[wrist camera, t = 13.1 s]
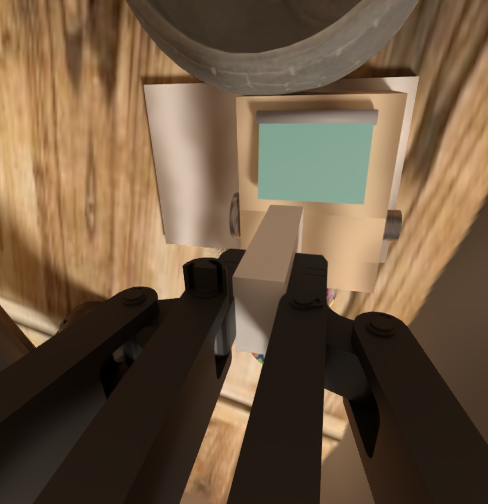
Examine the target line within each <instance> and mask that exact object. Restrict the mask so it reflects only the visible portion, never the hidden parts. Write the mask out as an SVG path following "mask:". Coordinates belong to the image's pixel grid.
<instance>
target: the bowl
mask: <svg viewBox="0 0 488 504" xmlns="http://www.w3.org/2000/svg"><path fill="white" fill-rule="evenodd" d="M418 1H419V0H126V2H127V3H128V5H129V7H130V8H131V10H132V11H133V13H134V14H135V16H136V18H137V19H138V21H139V22H140V24H141V25H142V27H143V28H144V30H145V31H146V32H147V33H148V35H149V36H150V37H151V38H152V39H153V41H154V42H155V43H156V44H157V46H158V47H159V48H160V49H161V50H162V51H163V52H164V53H165V54H166V55H167V56H168V57H169V58H171V59H172V60H173V61H174V62H175V63H176V64H177V65H178V66H180V67H181V68H183V69H184V70H185V71H187V72H188V73H190V74H191V75H193V76H194V77H196V78H197V79H199V80H200V81H203V82H205V83H207V84H209V85H211V86H214V87H216V88H218V89H221V90H224V91H228V92H233V93H237V94H241V95H278V94H287V93H293V92H298V91H303V90H308V89H313V88H318V87H323V86H325V85H327V84H330V83H332V82H334V81H336V80H339V79H340V78H342V77H344V76H346V75H347V74H349V73H351V72H353V71H354V70H356V69H357V68H359V67H360V66H361V65H363V64H364V63H365V62H366V61H368V60H369V59H370V58H371V57H373V56H374V55H375V54H376V53H377V52H379V51H380V50H381V49H382V48H383V47H384V46H385V45H386V44H387V43H388V42H389V41H390V39H391V38H392V37H393V36H394V35H395V34H396V33H397V32H398V31H399V30H400V28H401V27H402V25H403V24H404V22H405V21H406V19H407V18H408V16H409V15H410V13H411V12H412V11H413V9H414V7H415V6H416V4H417V3H418Z"/></svg>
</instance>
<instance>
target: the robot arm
mask: <svg viewBox="0 0 488 504" xmlns="http://www.w3.org/2000/svg"><path fill="white" fill-rule="evenodd" d="M303 211H304V206H286V205H270V206H269V208H268V210H267V212H266V214H265V216H264V218H263V220H262V222H261V223H260V225H259V227H258V229H257V231H256V233H255V235H254V237H253V239H252V241H251V242H250V244H249V246H248V248H247V250H243V249H231V248H230V249H229V250H227V251H225V252H224V253H222V254H221V255H220V257H219V258H218V259H216V258H198V259H194V260H191V261H189V262H187V263H186V264H184V265H183V273H184V281H185V291H184V293H183V294H182V295H181V297H180V298H175V299H164V300H158V295H157V293H156V291H155V290H153V289H151V288H149V287H132V288H129V289H126V290H123V291H122V292H120V293H118V294H116V295H115V296H113V297H112V298H110V299H109V300H107V301H106V302H104V303H99V302H89V303H84V304H82V305H80V306H78V307H76V308H75V309H74V310H73V311H72V312H71V313H70V314H68V315H67V316H66V317H65V319H64V320H63V321H62V323H61V325H60V328H59V330H58V331H57V333H56V334H55V336H53V337H52V338H50V339H49V340H47V341H46V342H44V343H43V344H41V345H40V346H38V347H37V348H36V347H35V346H34V345H33V343H32V342H31V341H30V340H29V339H28V338H27V336H26V335H25V334H24V333H23V332H22V331H21V330H20V328H19V327H18V326H17V325H16V324H15V323H14V321H13V320H12V319H11V318H10V316H9V315H8V314H7V313H6V312H5V310H4V309H3V308H2V307H1V305H0V504H180V501H181V498H182V495H183V493H184V490H185V487H186V484H187V482H188V479H189V476H190V474H191V471H192V468H193V465H194V463H195V460H196V457H197V454H198V452H199V449H200V446H201V444H202V441H203V438H204V435H205V433H206V430H207V427H208V424H209V422H210V419H211V416H212V413H213V411H214V408H215V405H216V403H217V400H218V397H219V394H220V392H221V389H222V386H223V383H224V381H225V378H226V375H227V373H228V370H229V367H230V364H231V360H232V351H231V347H232V345H233V342H234V340H235V344H236V350H237V351H244V352H251V353H257V354H264V355H265V358H264V362H263V366H262V370H261V374H260V377H259V381H258V385H257V389H256V393H255V397H254V401H253V404H252V408H251V412H250V416H249V420H248V424H247V428H246V431H245V435H244V439H243V443H242V447H241V451H240V455H239V458H238V462H237V466H236V470H235V474H234V478H233V482H232V485H231V489H230V493H229V497H228V501H227V504H320V480H321V455H322V430H323V404H324V388H325V389H327V390H329V391H331V392H334V393H336V394H338V395H340V396H343V403H344V407H345V410H346V413H347V416H348V419H349V423H350V426H351V429H352V432H353V435H354V438H355V441H356V445H357V448H358V451H359V454H360V457H361V461H362V464H363V467H364V470H365V473H366V476H367V480H368V483H369V486H370V489H371V492H372V496H373V499H374V502H375V504H488V444H487V443H486V442H485V440H484V438H483V437H482V436H481V434H480V433H479V431H478V430H477V428H476V427H475V425H474V424H473V422H472V421H471V420H470V418H469V417H468V415H467V413H466V412H465V411H464V409H463V408H462V406H461V405H460V403H459V402H458V400H457V399H456V397H455V396H454V394H453V393H452V391H451V390H450V388H449V387H448V385H447V384H446V383H445V381H444V380H443V378H442V377H441V375H440V374H439V372H438V371H437V369H436V368H435V366H434V365H433V363H432V362H431V361H430V359H429V358H428V356H427V355H426V353H425V352H424V351H423V349H422V347H421V346H420V344H419V343H418V341H417V340H416V338H415V337H414V336H413V334H412V333H411V331H410V330H409V328H408V327H407V326H406V325H405V324H404V323H403V322H402V321H401V320H399V319H398V318H396V317H394V316H392V315H389V314H385V313H382V312H366V313H362V314H360V315H358V316H356V318H355V320H351V319H347V318H345V317H342V316H340V315H338V314H337V313H335V312H334V311H333V310H331V309H330V307H329V306H328V304H327V275H328V261H327V260H326V259H325V257H324V256H323V255H317V254H305V253H301V247H302V229H303Z"/></svg>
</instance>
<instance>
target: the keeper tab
mask: <svg viewBox="0 0 488 504" xmlns="http://www.w3.org/2000/svg"><path fill="white" fill-rule="evenodd" d="M377 120H378V109H371V110H272V111H257V113H256V124H257V125H259V161H258V199H268V200H287V201H307V202H326V203H346V204H364V198H365V190H366V182H367V174H368V166H369V158H370V150H371V142H372V134H373V126H374V125H377Z"/></svg>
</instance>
